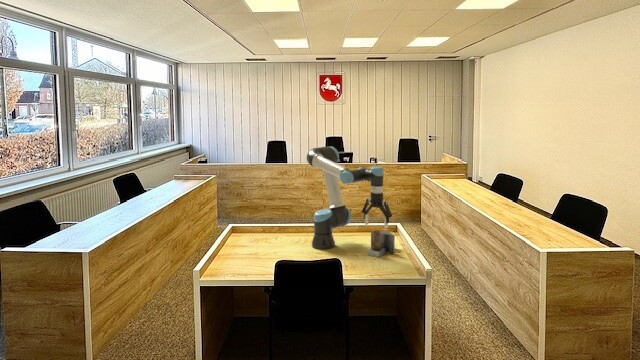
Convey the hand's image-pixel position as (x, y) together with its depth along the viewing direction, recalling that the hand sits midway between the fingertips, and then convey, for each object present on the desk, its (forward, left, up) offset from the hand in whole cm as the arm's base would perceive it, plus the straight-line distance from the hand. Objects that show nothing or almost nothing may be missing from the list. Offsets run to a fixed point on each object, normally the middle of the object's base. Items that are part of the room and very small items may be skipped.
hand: (376, 226), depth 324 cm
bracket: (0, +2, -18) cm, 18 cm away
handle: (0, 0, -17) cm, 17 cm away
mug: (-4, +14, -18) cm, 23 cm away
